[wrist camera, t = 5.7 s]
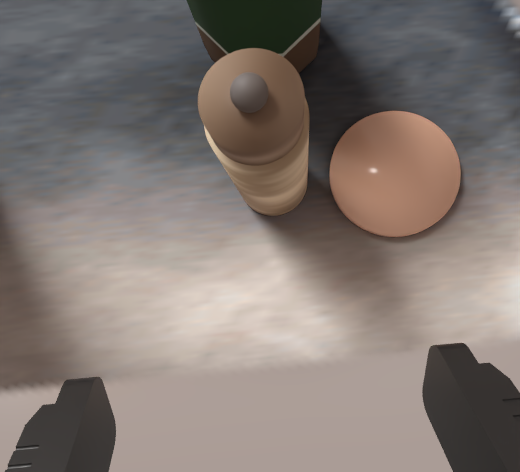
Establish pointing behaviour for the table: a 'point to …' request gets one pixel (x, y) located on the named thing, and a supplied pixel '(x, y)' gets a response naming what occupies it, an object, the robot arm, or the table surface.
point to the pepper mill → (258, 127)
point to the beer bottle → (260, 27)
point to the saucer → (394, 173)
